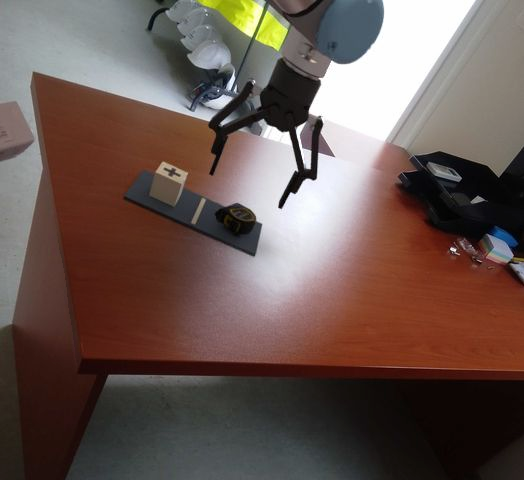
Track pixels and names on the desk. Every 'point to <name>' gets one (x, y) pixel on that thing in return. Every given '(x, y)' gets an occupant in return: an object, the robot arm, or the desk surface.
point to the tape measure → (236, 218)
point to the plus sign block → (168, 184)
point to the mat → (192, 214)
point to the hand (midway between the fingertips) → (246, 189)
